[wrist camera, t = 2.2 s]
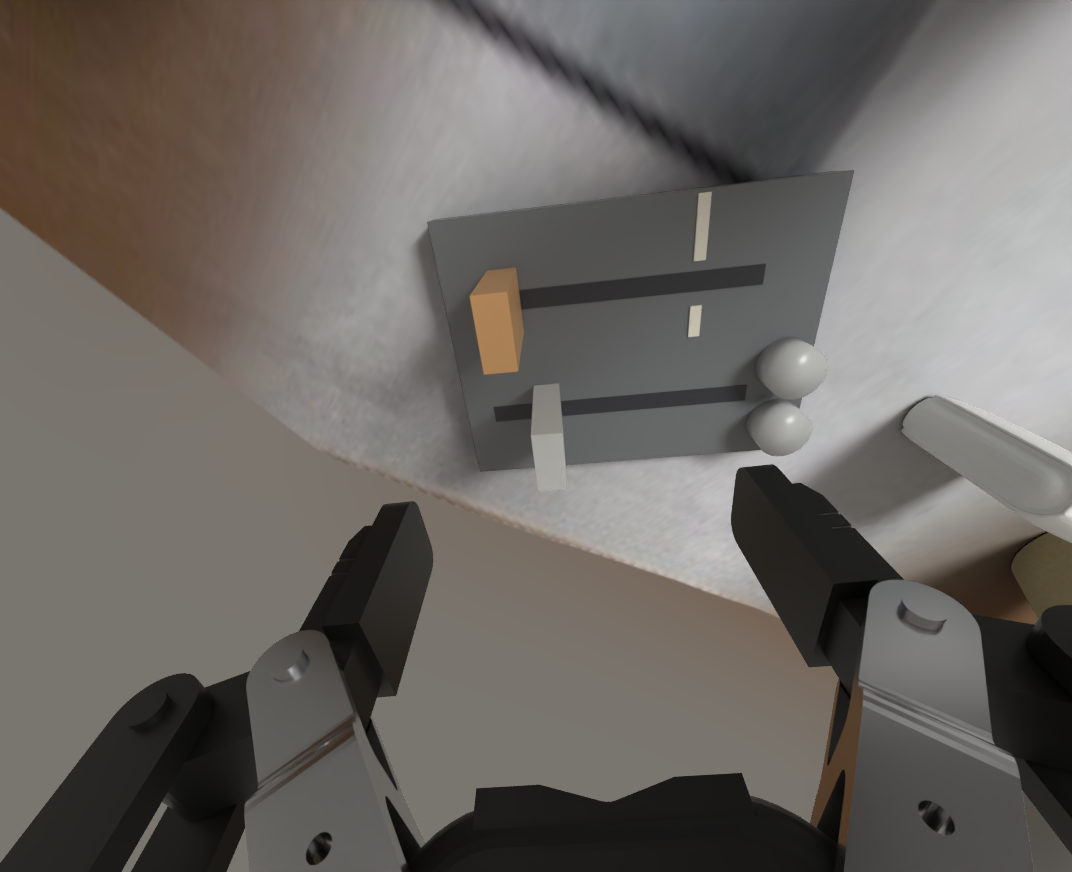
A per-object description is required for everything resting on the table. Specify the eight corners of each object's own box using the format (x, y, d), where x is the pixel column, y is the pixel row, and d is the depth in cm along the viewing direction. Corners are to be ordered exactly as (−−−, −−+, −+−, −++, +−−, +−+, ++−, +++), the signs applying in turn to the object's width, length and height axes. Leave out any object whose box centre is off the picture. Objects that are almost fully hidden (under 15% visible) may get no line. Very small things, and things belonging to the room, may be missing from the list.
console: (434, 219, 27) (389, 233, 19) (832, 171, 25) (962, 164, 17) (483, 457, 36) (466, 533, 28) (778, 434, 34) (846, 507, 26)
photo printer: (1030, 429, 33) (1257, 544, 23) (982, 471, 36) (1170, 593, 25) (930, 383, 32) (1126, 484, 21) (886, 429, 34) (1044, 542, 23)
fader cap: (487, 270, 26) (469, 295, 20) (516, 267, 26) (507, 291, 20) (497, 334, 28) (483, 374, 22) (524, 331, 28) (518, 371, 22)
